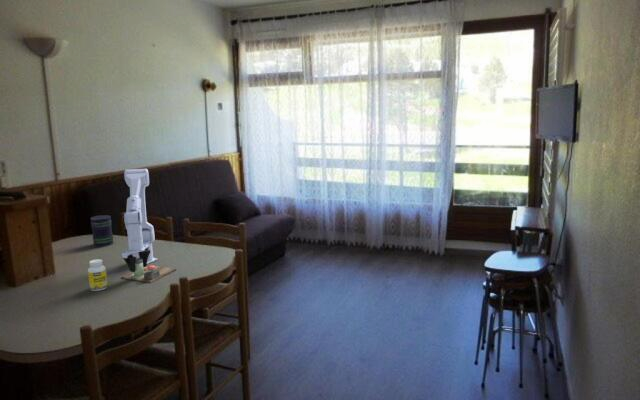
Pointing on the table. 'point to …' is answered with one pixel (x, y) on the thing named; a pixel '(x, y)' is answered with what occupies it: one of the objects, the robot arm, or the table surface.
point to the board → (161, 271)
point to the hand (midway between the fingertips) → (138, 269)
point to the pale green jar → (139, 267)
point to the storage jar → (102, 230)
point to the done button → (151, 267)
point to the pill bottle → (97, 275)
